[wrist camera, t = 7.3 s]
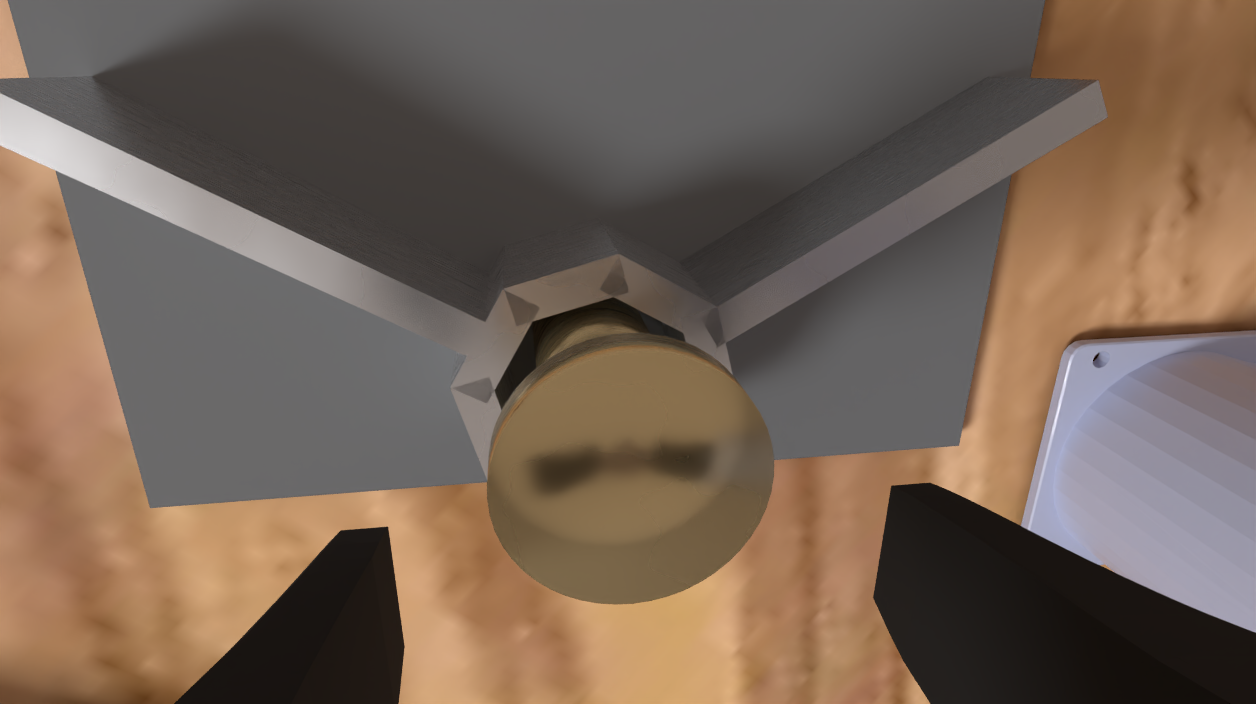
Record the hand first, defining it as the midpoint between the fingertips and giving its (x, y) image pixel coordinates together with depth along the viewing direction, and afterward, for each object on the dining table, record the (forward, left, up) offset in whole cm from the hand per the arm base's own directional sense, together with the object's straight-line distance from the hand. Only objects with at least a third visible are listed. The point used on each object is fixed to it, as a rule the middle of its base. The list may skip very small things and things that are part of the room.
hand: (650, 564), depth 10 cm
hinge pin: (0, -1, -9) cm, 9 cm away
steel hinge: (+1, -5, -9) cm, 10 cm away
